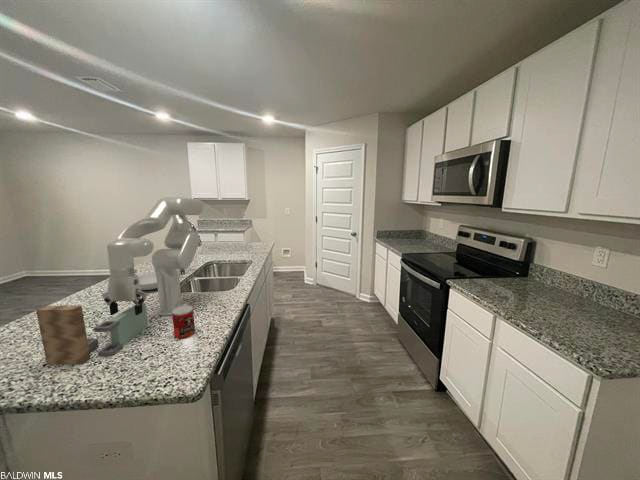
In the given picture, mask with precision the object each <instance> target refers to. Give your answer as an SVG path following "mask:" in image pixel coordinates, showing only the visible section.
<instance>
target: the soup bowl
mask: <svg viewBox="0 0 640 480" xmlns="http://www.w3.org/2000/svg"><path fill="white" fill-rule="evenodd" d="M137 276H138V279H139V282H140V286H141V291H149V290H150V291H152V290H156V289H158V286H157V278H156V272H155V271H154V272H150V273H149V272H148V273H142V274H140V275H137Z"/></svg>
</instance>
